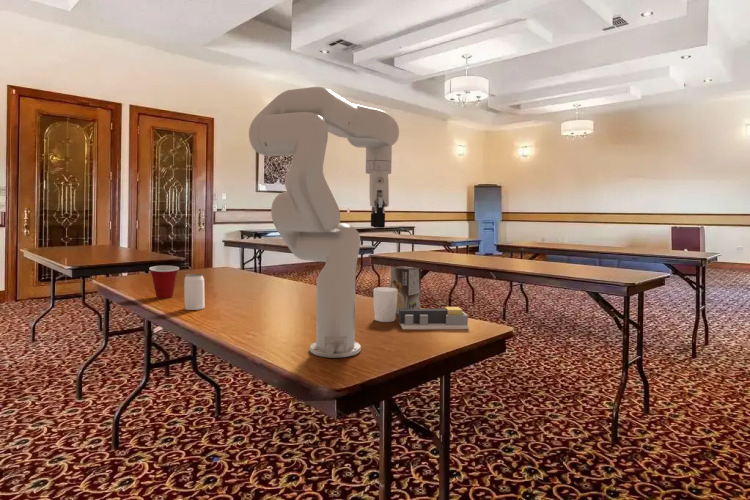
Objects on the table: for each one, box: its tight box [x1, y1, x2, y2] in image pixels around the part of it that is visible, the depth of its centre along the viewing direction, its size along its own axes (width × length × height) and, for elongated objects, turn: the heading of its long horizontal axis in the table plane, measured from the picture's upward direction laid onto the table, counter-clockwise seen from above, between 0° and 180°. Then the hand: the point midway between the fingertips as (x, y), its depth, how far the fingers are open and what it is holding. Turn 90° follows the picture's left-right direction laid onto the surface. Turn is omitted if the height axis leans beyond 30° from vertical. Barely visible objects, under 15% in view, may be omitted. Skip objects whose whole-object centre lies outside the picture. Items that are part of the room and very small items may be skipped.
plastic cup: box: [149, 265, 180, 299], centre depth 178 cm, size 11×11×12 cm
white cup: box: [373, 286, 398, 323], centre depth 146 cm, size 8×8×10 cm
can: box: [183, 273, 206, 311], centre depth 157 cm, size 6×6×12 cm
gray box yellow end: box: [398, 306, 463, 325], centre depth 139 cm, size 19×4×4 cm, turn 95°
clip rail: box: [398, 310, 470, 330], centre depth 140 cm, size 9×20×4 cm, turn 95°
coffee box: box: [390, 265, 422, 315], centre depth 156 cm, size 9×6×16 cm
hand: (377, 227), depth 133 cm, fingers open, 9 cm apart
